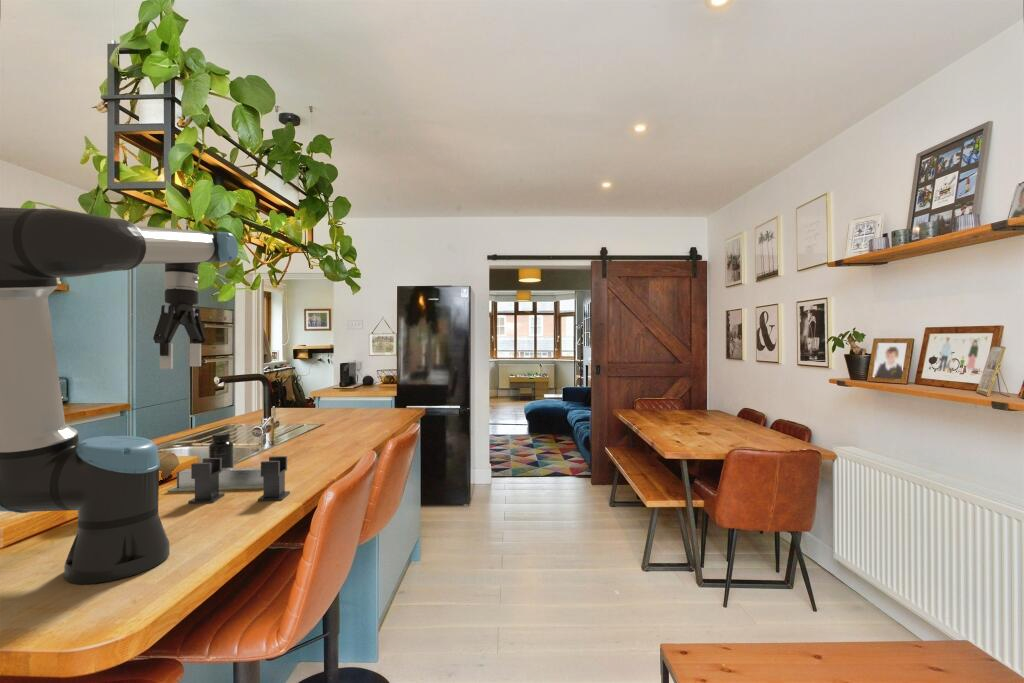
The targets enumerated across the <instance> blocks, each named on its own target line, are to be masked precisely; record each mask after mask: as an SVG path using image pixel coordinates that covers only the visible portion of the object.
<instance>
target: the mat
mask: <svg viewBox="0 0 1024 683" xmlns="http://www.w3.org/2000/svg"><path fill="white" fill-rule="evenodd" d="M253 489H254V490H258V489H263V485H260V486H228V487H219V491H223V490H224V491H225V490H230V491H231V490H253ZM192 491H193V492H195V488H177V485H175V486H172V487H171V488H169V489H167V492H168V493H169V492H192Z"/></svg>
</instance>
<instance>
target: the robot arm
mask: <svg viewBox="0 0 1024 683" xmlns="http://www.w3.org/2000/svg"><path fill="white" fill-rule="evenodd" d="M238 255H239V245H238V241H237V238H236V237H235V235H233V233H230V232H228V231H227V232H225V231H203V230H195V229H194V230H191V229H180V228H169V227H156V226H143V225H136V224H134V223H132V222H131V221H129V220H125V219H122V218H113V217H108V216H100V215H97V214H90V213H85V212H78V211H73V210H68V209H60V208H29V207H27V208H26V207H25V208H23V207H1V206H0V512H10V513H11V512H13V513H17V514H18V513H19V514H25V513H26V514H27V513H32V512H35V513H36V512H37V513H38V512H59V511H60V512H61V511H62V512H63V511H64V512H67V511H77V532H76V534H75V537H74V539H73V542H72V545H71V547H70V550H69V552H68V555H67V558H66V560H65V562H64V569H63V571H64V572H63V574H64V577H63V578H64V580H65V581H66V582H69V583H71V584H77V585H78V584H79V585H80V584H81V585H82V584H83V585H84V584H86V585H87V584H89V585H90V584H100V583H106V582H111V581H112V582H113V581H116V580H120V579H121V580H122V579H125V578H128V577H131V576H135V575H138V574H140V573H142V572H146V571H149V570H150V569H153V568H155V567H157V566H158V565H160V564H161V563H163V562H164V561H166V560H167V559H168V558H169V556H170V547H171V546H170V540H169V538H168V536H167V533H166V530H165V528H164V525H163V523H162V521H161V519H160V516H159V500H160V499H159V498H160V497H159V495H160V494H159V492H160V488H159V486H160V485H159V484H160V482H159V466H160V461H159V456H158V453H159V449H158V446H157V443H155V442H154V441H153V440H151V439H149V438H147V437H142V436H135V435H134V436H132V435H103V436H96V437H89V438H86V439H83V440H82V441H80V440H79V433H78V432H79V431H78V430H77V429H76V428H73V426H72V427H71V426H69V425H68V424H67V423H66V419H65V418H66V417H65V413H64V412H65V411H64V404H63V398H62V391H61V383H60V377H59V368H58V363H57V356H56V354H57V353H56V348H55V343H54V333H53V326H52V319H51V312H50V306H49V299H48V298H49V296H50V295H51V294H52V293H53V292H54V291H56V290H57V289H58V288H59V287H58V280H57V279H61V278H63V279H65V278H74V277H75V278H76V277H84V276H89V275H90V276H92V275H97V274H104V273H110V272H111V273H112V272H119V271H130V270H133V269H136V268H137V267H139V266H140V265H155V264H156V265H157V264H162V265H163V264H164V287H165V288H166V289H165V290H164V302H165V304H163V305H161V308H160V309H161V310H160V316H159V317H158V318H159V319H158V322H157V325H156V328H155V331H154V334H153V337H152V338H153V341H154V343H155V344H159V369H160V370H173V369H174V365H173V364H174V354H173V353H174V344H173V343H171V342H172V340H173V339H174V336H175V335H176V332H177V330H178V329H179V326H180V325H182V326H184V329H185V331H186V333H187V335H188V338H189V340H190V342H191V343H189V367H202V344H206V341H207V338H206V334H205V330H204V325H203V321H202V319H201V310H200V308H194V306H195V305H198V304H199V291H198V290H197V289H199V281H200V277H199V263H230V262H234V261H235V260H236V259H237V257H238ZM167 304H168V305H167Z"/></svg>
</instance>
